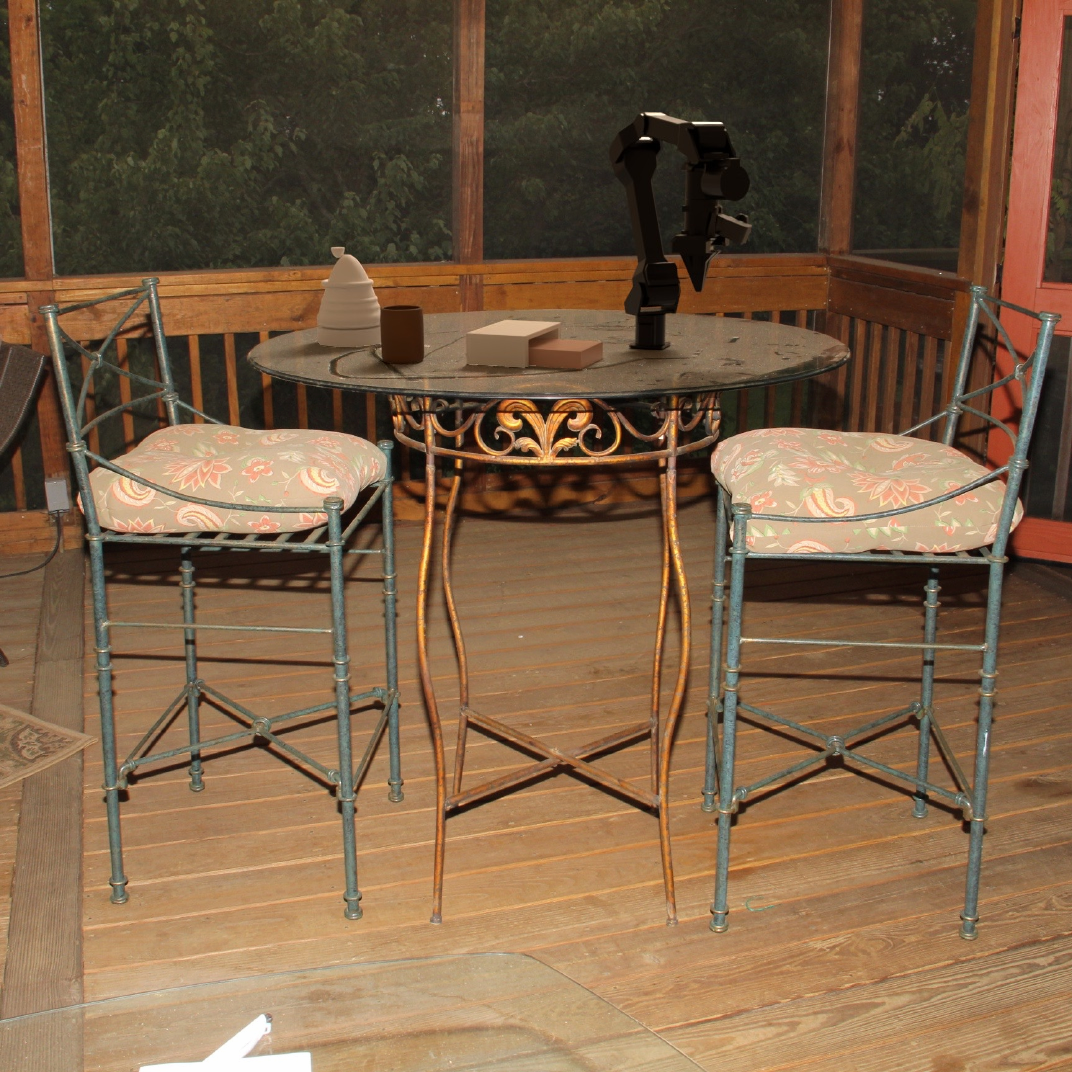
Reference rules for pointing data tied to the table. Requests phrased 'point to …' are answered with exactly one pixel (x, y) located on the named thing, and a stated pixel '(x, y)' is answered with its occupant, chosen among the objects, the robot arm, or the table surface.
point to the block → (564, 352)
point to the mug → (402, 334)
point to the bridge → (507, 342)
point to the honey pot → (348, 306)
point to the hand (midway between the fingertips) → (698, 291)
